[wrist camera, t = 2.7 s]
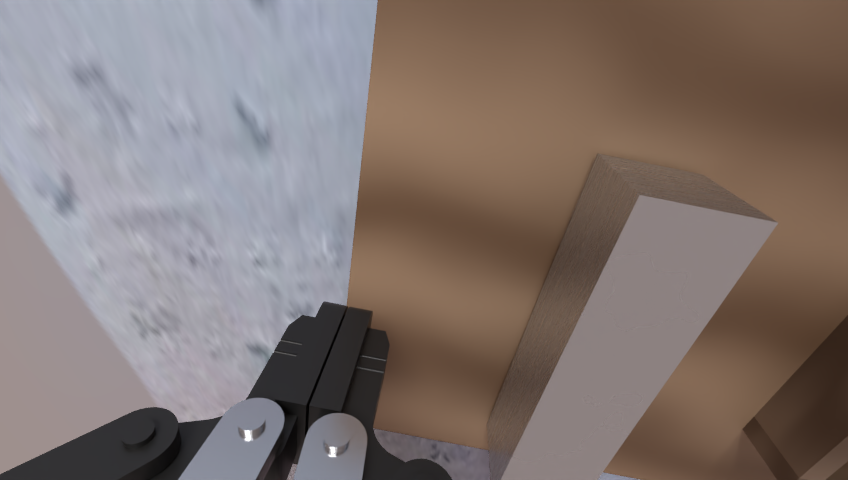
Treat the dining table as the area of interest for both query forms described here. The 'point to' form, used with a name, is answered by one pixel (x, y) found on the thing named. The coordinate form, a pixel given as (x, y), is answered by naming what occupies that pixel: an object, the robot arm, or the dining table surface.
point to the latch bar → (617, 314)
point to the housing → (560, 190)
